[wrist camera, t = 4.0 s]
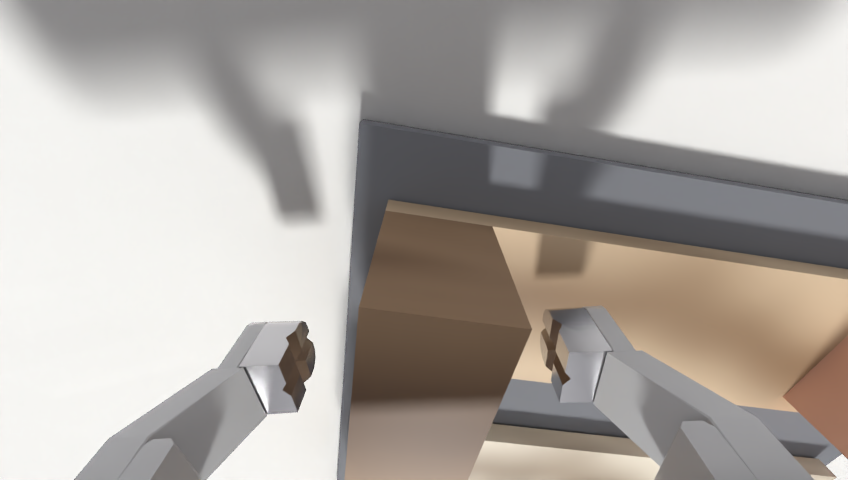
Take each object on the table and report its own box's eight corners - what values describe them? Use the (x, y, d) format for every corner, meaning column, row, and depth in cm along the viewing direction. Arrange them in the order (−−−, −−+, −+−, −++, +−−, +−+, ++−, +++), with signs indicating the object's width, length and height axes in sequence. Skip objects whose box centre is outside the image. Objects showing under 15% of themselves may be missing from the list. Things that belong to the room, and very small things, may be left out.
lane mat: (727, 519, 20) (735, 531, 20) (338, 483, 19) (336, 495, 18) (1088, 240, 11) (1121, 249, 10) (363, 119, 9) (359, 123, 9)
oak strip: (886, 407, 14) (1082, 555, 10) (371, 344, 13) (343, 488, 8) (1032, 297, 11) (1396, 440, 7) (388, 199, 10) (358, 307, 6)
